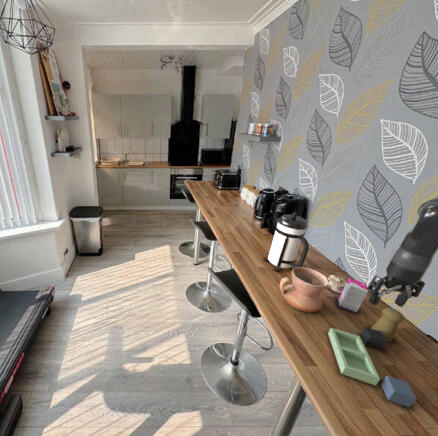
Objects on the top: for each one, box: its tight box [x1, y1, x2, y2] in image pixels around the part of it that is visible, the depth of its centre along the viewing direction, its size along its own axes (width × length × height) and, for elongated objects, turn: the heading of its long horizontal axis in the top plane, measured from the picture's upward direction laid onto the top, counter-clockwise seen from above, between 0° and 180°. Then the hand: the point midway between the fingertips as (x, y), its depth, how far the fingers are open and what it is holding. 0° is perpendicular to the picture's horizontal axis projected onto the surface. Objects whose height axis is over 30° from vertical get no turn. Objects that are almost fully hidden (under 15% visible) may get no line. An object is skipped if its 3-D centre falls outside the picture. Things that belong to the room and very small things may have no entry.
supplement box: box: [337, 277, 369, 314], centre depth 96 cm, size 6×6×12 cm
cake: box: [326, 274, 348, 294], centre depth 108 cm, size 10×10×5 cm
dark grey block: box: [360, 326, 388, 351], centre depth 81 cm, size 5×5×4 cm
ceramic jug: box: [279, 266, 332, 314], centre depth 96 cm, size 18×14×14 cm
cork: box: [370, 307, 405, 342], centre depth 83 cm, size 6×6×11 cm
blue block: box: [380, 375, 417, 408], centre depth 66 cm, size 5×5×4 cm
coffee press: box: [263, 211, 309, 272], centre depth 117 cm, size 17×16×30 cm
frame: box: [327, 327, 381, 386], centre depth 76 cm, size 8×16×3 cm, turn 157°
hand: (385, 304), depth 78 cm, fingers open, 8 cm apart
